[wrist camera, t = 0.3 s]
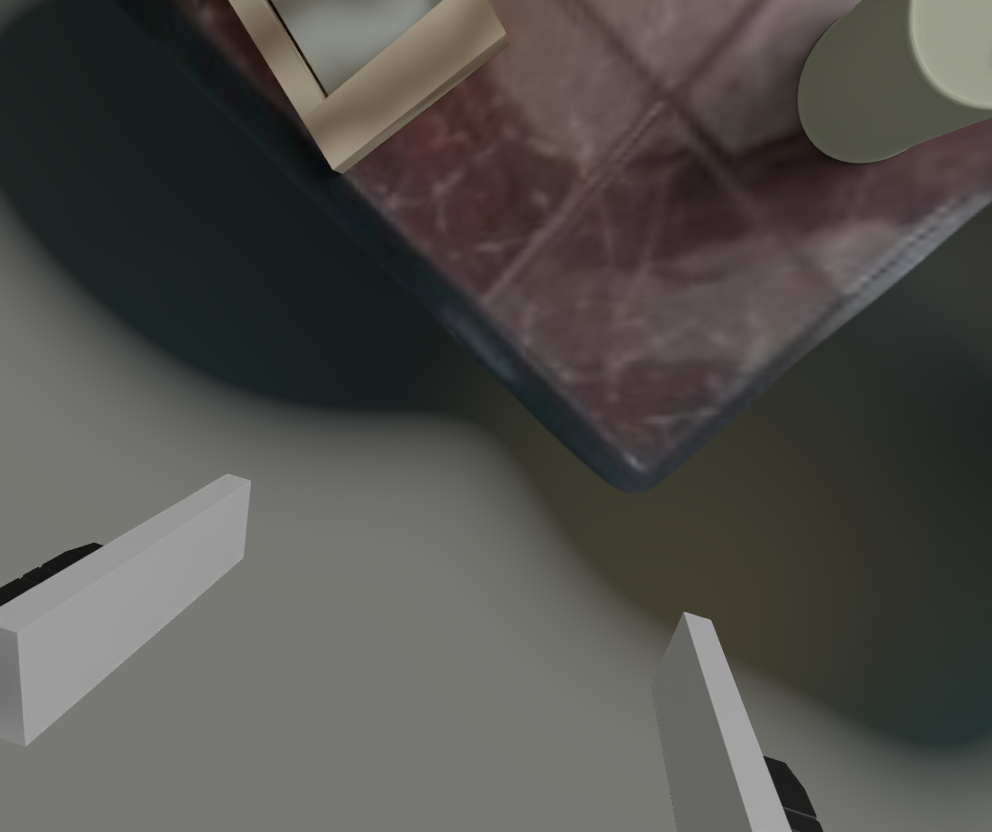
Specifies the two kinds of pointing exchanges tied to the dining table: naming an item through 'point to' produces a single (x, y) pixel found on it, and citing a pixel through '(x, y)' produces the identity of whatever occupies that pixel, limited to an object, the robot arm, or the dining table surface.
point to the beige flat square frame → (369, 61)
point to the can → (897, 76)
